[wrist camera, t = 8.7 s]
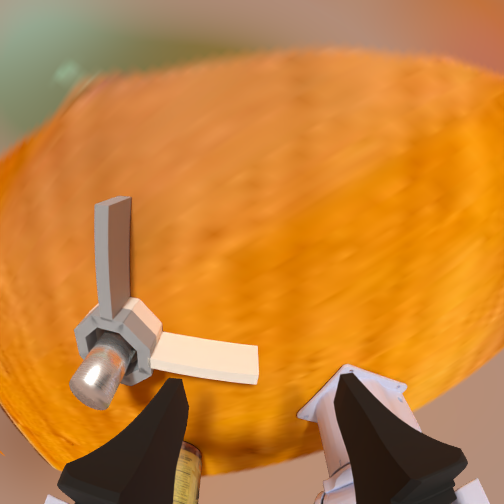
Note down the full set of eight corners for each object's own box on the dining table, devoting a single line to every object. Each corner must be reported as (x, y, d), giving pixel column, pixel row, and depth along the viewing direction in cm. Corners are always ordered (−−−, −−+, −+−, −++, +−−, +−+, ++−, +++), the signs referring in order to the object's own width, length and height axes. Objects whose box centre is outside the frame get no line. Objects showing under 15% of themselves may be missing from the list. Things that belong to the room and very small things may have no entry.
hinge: (99, 348, 22) (84, 372, 19) (88, 193, 18) (61, 201, 14) (250, 377, 23) (250, 406, 20) (283, 217, 19) (290, 230, 15)
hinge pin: (147, 324, 21) (111, 393, 14) (139, 349, 22) (107, 416, 15) (115, 308, 21) (69, 370, 13) (109, 334, 22) (69, 395, 14)
